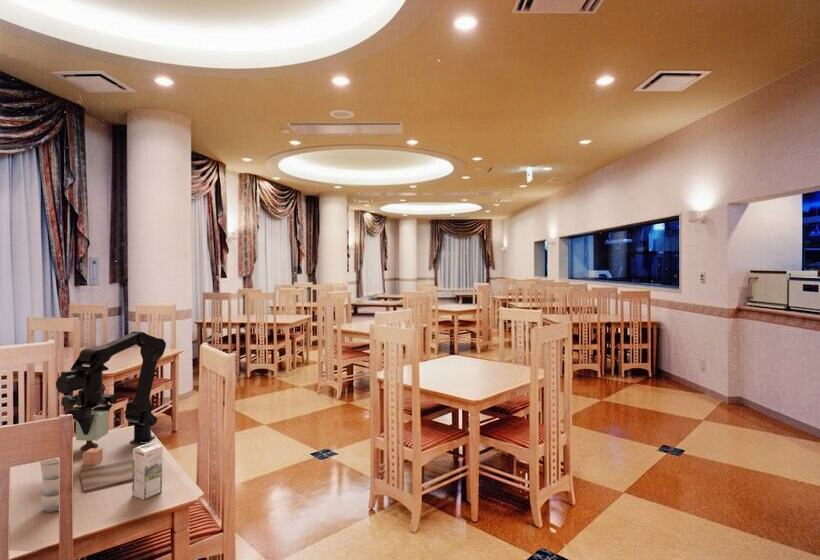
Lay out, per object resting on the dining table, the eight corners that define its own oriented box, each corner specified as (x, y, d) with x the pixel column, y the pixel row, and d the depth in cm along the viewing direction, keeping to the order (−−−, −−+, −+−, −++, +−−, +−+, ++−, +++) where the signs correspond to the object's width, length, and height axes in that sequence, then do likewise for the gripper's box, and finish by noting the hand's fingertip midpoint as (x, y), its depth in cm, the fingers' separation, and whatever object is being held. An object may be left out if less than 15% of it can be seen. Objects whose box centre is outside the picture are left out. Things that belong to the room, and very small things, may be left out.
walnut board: (80, 472, 150) (80, 470, 150) (136, 460, 160) (136, 458, 160) (83, 492, 138) (83, 490, 138) (144, 478, 148) (144, 475, 148)
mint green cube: (88, 433, 161) (88, 410, 161) (108, 433, 161) (108, 410, 161) (76, 440, 154) (76, 416, 154) (96, 440, 155) (96, 416, 154)
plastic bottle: (58, 515, 126) (57, 443, 125) (33, 514, 126) (33, 442, 125) (75, 503, 132) (75, 434, 131) (52, 502, 132) (52, 433, 131)
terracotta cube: (90, 459, 160) (90, 448, 160) (102, 459, 160) (102, 448, 160) (83, 464, 156) (82, 453, 156) (95, 464, 156) (95, 453, 156)
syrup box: (150, 487, 142) (150, 441, 141) (162, 492, 139) (162, 445, 139) (132, 495, 137) (132, 447, 136) (144, 501, 134) (144, 452, 134)
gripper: (85, 378, 166) (85, 421, 167) (47, 393, 147) (48, 441, 148) (117, 378, 167) (117, 421, 167) (84, 393, 148) (84, 441, 149)
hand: (92, 430), depth 158 cm, fingers closed on mint green cube, 7 cm apart
